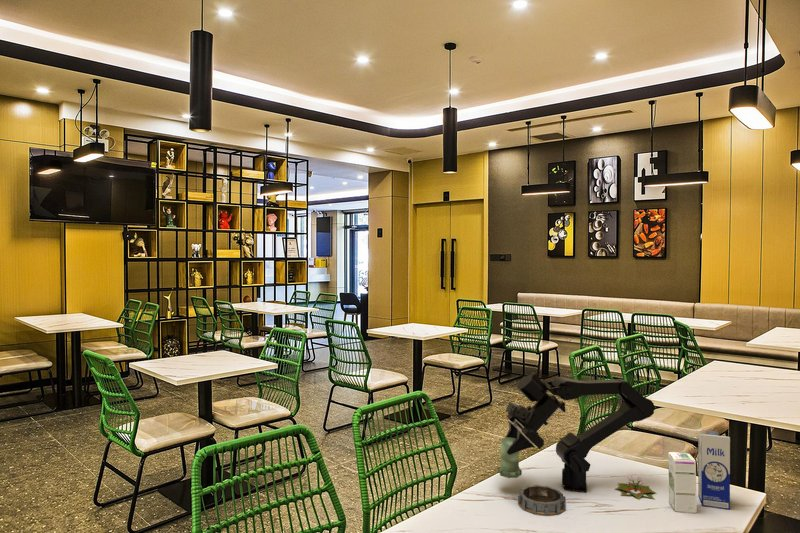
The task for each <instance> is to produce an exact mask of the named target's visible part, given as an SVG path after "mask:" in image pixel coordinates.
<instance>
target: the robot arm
mask: <svg viewBox="0 0 800 533" xmlns="http://www.w3.org/2000/svg"><path fill="white" fill-rule="evenodd" d="M516 388H517V389H518V391H520V393H521V394H522V395H523V396H524V397H526V398H527V400H529V401H530V402H532V403H533V402H535V403H534V404H533V405H532V406H531V405H527V407H525V406H523V405H522V404H519V405H518V404H517V403H514V402H512V401H509V402H508V405H507V406H506V409H505V413H507V414H508V415H506V418H507V419H508V421H507V422H508V431H507V433H506V435H505V437H504V438H506V437H510V438H515V441H514V442H513V444H512V445H511V446H510V448H509V449H508V451H507V453H508V454H509V455H510V454H513V453H516V452H518V451H519V452H521V451H524V450H526V449H530V448H535V447H537V448H538V450H541V448H543V447H544V445H545V440H544V438H542V437H541V436H540V435H539V434H540V433H539V432H538V431H539V430H540V428H541V427H543V425H544V426H547V425H548V424H549V423H548V420H549V419H550V418H551V417H552V416H553V415H554V414H555V413H556V412H557V410H558V409H559V410H560V411H561V412H563V413H566V412H567V411H566V402H565V401H571V400H576V399H579V398H581V397H583V396H596V395H598V396H600V395H618V396H619V397H620V398H621V399H622V402H621V403H620V406H619V407H618V409H617V410H616V411H614V412H613V413H611V414H610V415H608V416H606V417H605V418H604V419H602V420H600V421H598V423H596V424H593V426H591V427H589V428H588V429H586V430H584V432H582V433H580V434H574V433H573V432H571V431H570V432H569V433H567V434H566V435H564V436H563V437H560V438H559V441H558V442H557V443H556V445H555V452H556V455H557V456H558V457H559V459H561V460H560V461H561V462H562V463H563V468H562V469H561V484H562V486H563V489H564V490H566V491H576V492H584V493H587V492H588V491H587V490H588V488H587V487H588V486H587V472H589V471H590V468H591V464H590V462H589V461H588V460H587V459H586V458H587V456H588V454H589V452H591V451H590V450H591V449H592V448H594V447H595V446H597V445H599V443H601V442H602V441H604V440H606V439H607V438H608V437H610V436H612V435H614V434H615V433H617V432H618V431H619V430H621V429H622V428H624V427H626V426H627V425H629V424H630V423H637V422H641V421H644V420H646V419H648V418H651V417H652V416H653V415H654V413H655V404H654V402H653V401H652V400H651V399H649V398H647V397H646V396H644V395H643V394H641V393H640V392H639V391H637V389H635V388H634V387H633V386H632V385H631V384H630V383H629V382H628V381H627V380H626V381H625V380H624V379H622V378H615V379H598V380H597V379H592V380H590V379H589V380H579V379H574V378H570V377H564V376H558V377H557V376H556V377H554V379H553V380H550V381H545V382H544V381H543V380H541V379H540V377H539V376H538V375H537V374H536V373H535V372H531V373H530V374H528V375H526V376H524V377H522V378H521V379H520V380H519V382H518V384H517V385H516ZM547 392H548V393H547ZM550 394H551V395H550ZM556 396H557V397H558V398H560V399H561V400H559V399H558V398H557V397H556Z"/></svg>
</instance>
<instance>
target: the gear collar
mask: <svg viewBox="0 0 800 533" xmlns="http://www.w3.org/2000/svg"><path fill="white" fill-rule="evenodd" d="M566 501H567V500H566V496H564V493H562V492H561V491H560V490H559V489H557V488H554V487H551V486H547V485H538V484H536V485H526V486H525V487H523V488H521V489H520V490H519V491H518V496H517V504H518V507H520V508H521V509H522V510H524V511H525V512H527V513H531V514H534V515H536V516H545V517H547V516H557V515H560V514H563V513H564V512H565V510H566V508H567V507H566V506H567V502H566Z"/></svg>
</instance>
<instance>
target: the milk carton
mask: <svg viewBox="0 0 800 533" xmlns="http://www.w3.org/2000/svg"><path fill="white" fill-rule="evenodd" d="M697 437H698V438H697V439H698V440H697V442H698V444H697V446H698V448H697V449H698V452H697V454H698V455H697V456H698V458H697V462H698V463H697V464H698V466H697V467H698V469H697V471H698V474H697V478H698V483H697V484H698V486H697V487H698V490H697V491H698V494H697V497H698V499H699V501H700V503H701V506H702V507H707V508H715V509H723V510H731V437H730V436H724V435H719V431H714V430H706V434H704V433H697Z"/></svg>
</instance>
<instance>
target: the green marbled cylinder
mask: <svg viewBox="0 0 800 533" xmlns="http://www.w3.org/2000/svg"><path fill="white" fill-rule="evenodd" d="M505 437H506V436H505ZM505 437H503V438H501V439H500V466H499V467H497V473H498V474H499V476H500V477H503V478H507V479H518V478H519V477H520V476H523V475H522V469H521V467H520V462H519V460H520V459H519V458H520V454H519V452H520V451H518V452H516V453H513V454H510V455H509V454H508V453H507V451H508V449H509V448H510V446H511V445H512V444H513V442H514V441H515V438H510V437H506V438H505Z"/></svg>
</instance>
